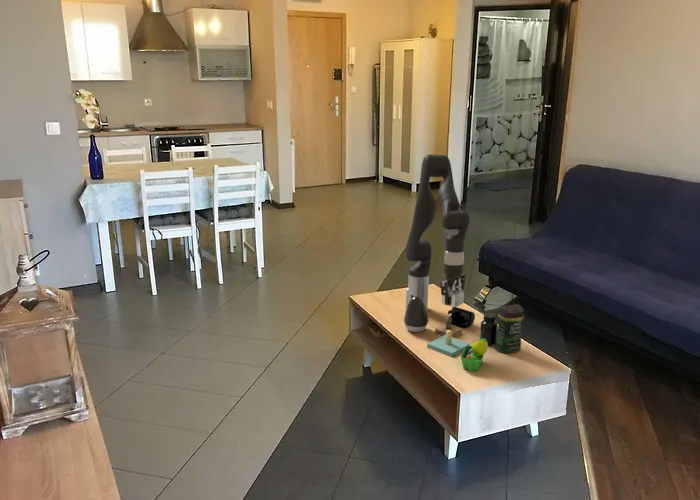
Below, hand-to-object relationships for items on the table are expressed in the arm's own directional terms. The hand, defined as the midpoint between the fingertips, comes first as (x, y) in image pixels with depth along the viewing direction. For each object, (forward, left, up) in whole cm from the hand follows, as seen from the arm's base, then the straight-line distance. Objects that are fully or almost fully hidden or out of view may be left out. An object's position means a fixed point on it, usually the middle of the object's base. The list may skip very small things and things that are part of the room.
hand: (452, 302), depth 229 cm
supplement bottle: (+9, +14, -19) cm, 25 cm away
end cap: (-10, +22, -19) cm, 30 cm away
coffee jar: (+18, +14, -19) cm, 30 cm away
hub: (0, -1, -19) cm, 19 cm away
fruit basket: (+16, -7, -19) cm, 26 cm away
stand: (-8, +10, -19) cm, 22 cm away
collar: (0, 0, 0) cm, 0 cm away
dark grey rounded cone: (-20, +3, -19) cm, 27 cm away
